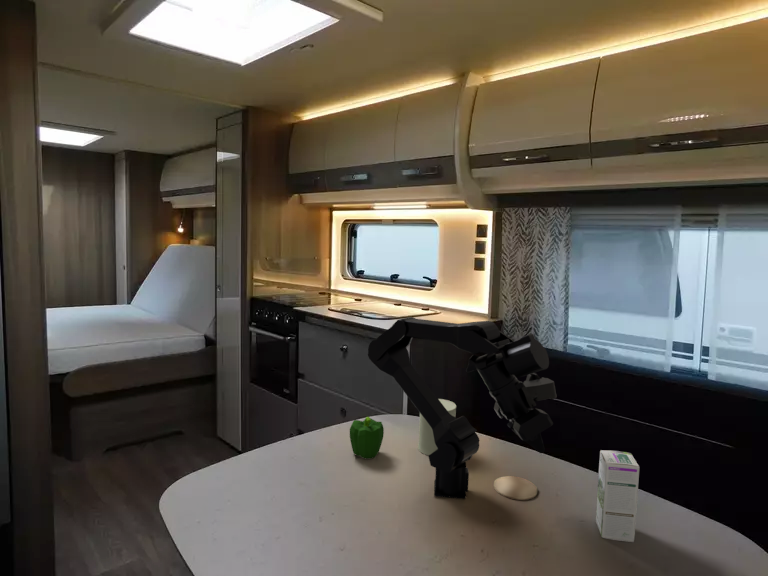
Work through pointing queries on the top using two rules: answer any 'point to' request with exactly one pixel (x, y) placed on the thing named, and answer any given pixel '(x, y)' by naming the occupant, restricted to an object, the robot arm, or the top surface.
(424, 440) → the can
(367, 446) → the bell pepper
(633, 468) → the syrup box
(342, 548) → the top surface
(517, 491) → the cork coaster
